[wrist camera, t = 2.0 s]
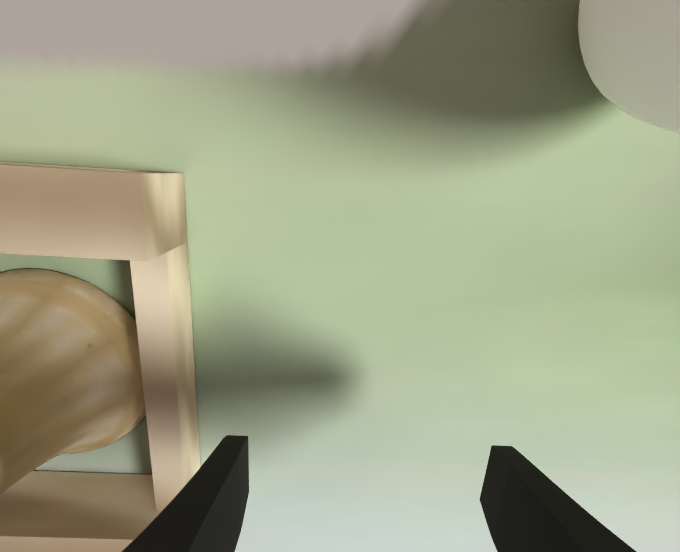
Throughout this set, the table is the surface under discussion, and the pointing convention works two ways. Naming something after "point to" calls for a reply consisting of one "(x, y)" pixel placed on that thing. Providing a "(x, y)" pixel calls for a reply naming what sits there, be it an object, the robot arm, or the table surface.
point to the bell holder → (153, 337)
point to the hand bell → (63, 370)
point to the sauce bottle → (634, 56)
